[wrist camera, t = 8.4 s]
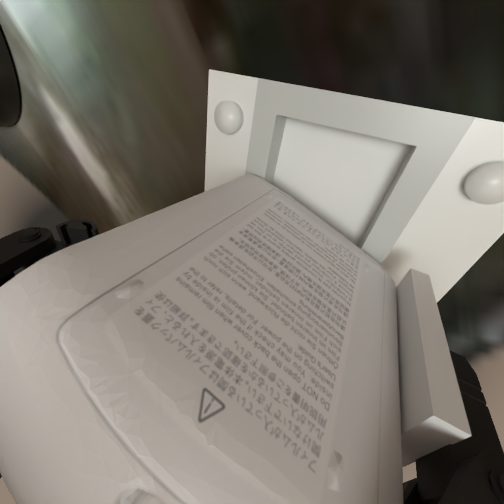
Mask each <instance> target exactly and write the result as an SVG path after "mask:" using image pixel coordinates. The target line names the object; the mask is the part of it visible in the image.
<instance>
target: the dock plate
mask: <svg viewBox="0 0 504 504" xmlns="http://www.w3.org/2000/svg"><path fill="white" fill-rule="evenodd" d="M247 174H252V175H255V176H258V177H260V178H262V179H264V180H266V181H268V182H269V183H271V184H272V185H274V186H275V187H277V188H278V189H280V190H281V191H283V192H284V193H286V194H287V195H289V196H290V197H292V198H293V199H294V200H295V201H297V202H298V203H300V204H301V205H303V206H304V207H305V208H307V209H308V210H309V211H311V212H312V213H313V214H315V215H316V216H318V217H319V218H320V219H321V220H323V221H324V222H325V223H327V224H328V225H329V226H331V227H332V228H334V229H335V230H336V231H338V232H339V233H340V234H342V235H343V236H344V237H345V238H347V239H348V240H349V241H351V242H352V243H353V244H355V245H356V246H357V247H358V248H360V249H361V250H362V251H364V252H365V253H366V254H367V255H369V256H370V257H371V258H372V259H374V260H375V261H376V262H377V263H378V264H379V265H380V266H381V267H382V268H383V269H384V270H385V271H386V272H387V273H388V274H389V275H390V276H391V278H392V279H393V281H394V282H395V286H396V287H397V286H398V284H399V283H400V282H401V280H402V279H403V278H404V276H405V275H406V274H407V272H408V271H409V270H410V268H412V269H414V270H417V271H420V272H422V273H425V274H428V275H429V276H430V280H431V284H432V288H433V291H434V295H435V299H436V303H437V302H438V301H439V300H440V299H441V298H442V297H443V296H444V295H445V294H446V293H447V292H448V291H449V290H450V289H451V287H452V286H453V285H454V284H455V283H456V282H457V281H458V280H459V279H460V278H461V277H462V276H463V275H464V274H465V273H466V272H467V271H468V270H469V269H470V268H471V266H472V265H473V264H474V263H475V262H476V261H477V260H478V259H479V258H480V257H481V256H482V255H483V254H484V253H485V252H486V251H487V250H488V249H489V248H490V247H491V245H492V244H493V243H494V242H495V241H496V240H497V239H498V238H499V237H500V236H501V235H502V234H503V233H504V123H503V122H498V121H492V120H486V119H481V118H476V117H471V116H465V115H460V114H454V113H448V112H443V111H437V110H432V109H426V108H421V107H415V106H410V105H404V104H399V103H393V102H387V101H382V100H376V99H371V98H365V97H360V96H354V95H349V94H343V93H338V92H332V91H327V90H321V89H315V88H310V87H304V86H299V85H293V84H288V83H282V82H277V81H271V80H266V79H260V78H254V77H248V76H243V75H237V74H232V73H226V72H221V71H215V70H210V69H209V84H208V112H207V139H206V166H205V191H208V190H210V189H212V188H215V187H217V186H220V185H222V184H225V183H227V182H229V181H232V180H234V179H237V178H239V177H241V176H244V175H247Z"/></svg>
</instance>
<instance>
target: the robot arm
mask: <svg viewBox="0 0 504 504" xmlns="http://www.w3.org/2000/svg"><path fill="white" fill-rule="evenodd" d="M19 110H20V100H19V91H18V85H17V80H16V76H15V72H14V68H13V65H12V61H11V58H10V55H9V52H8V49H7V46H6V44H5V41H4V38H3V36H2V33H1V31H0V126H11V125H13V124H14V123H15V122H16V121H17V119H18V116H19ZM56 228H57V230H58V233H59V235H60V238H61V240H62V242H61V241H56V240H54V237H53V235H52V233H51V231H50V230H49V229H46V228H40V227H35V228H33V227H32V228H28V229H23V230H20V231H17V232H14V233H12V234H10V235H8V236H5V237H3V238H1V239H0V287H1V286H2V285H4V284H5V283H7V282H8V281H9V280H11V279H12V278H13V277H15V274H14V273H13V272H14V271H16V270H17V269H19V268H20V267H22V269H23V270H25V269H27V268H28V267H30V266H31V265H33V264H35V263H36V262H38V261H39V260H41V259H43V258H45V257H47V256H49V255H51V254H53V253H55V252H58V251H60V250H62V249H64V248H67V247H69V246H71V245H74V244H76V243H79V242H82V241H84V240H87V239H89V238H92V237H94V236H97V235H99V233H98V230H97V226H96V224H95V223H94V222H92V221H88V220H73V221H67V222H64V223H61V224H59V225H57V226H56ZM396 296H397V334H398V364H399V390H400V417H401V447H402V466H403V467H404V466H406V465H409V464H411V463H413V462H415V461H416V470H417V478H415V479H412V480H410V481H407V482H405V483H403V504H504V452H503V450H502V447H501V444H500V441H499V438H498V435H497V432H496V429H495V426H494V424H493V421H492V418H491V415H490V412H489V409H488V407H487V406H486V401H485V398H484V395H483V393H482V392H481V386H480V383H479V380H478V377H477V375H476V373H475V371H474V370H473V368H472V367H471V366H470V364H469V363H468V361H467V360H466V359H465V357H463V356H461V355H459V354H457V353H454V352H452V351H450V350H449V348H448V344H447V340H446V337H445V333H444V329H443V325H442V322H441V318H440V314H439V310H438V307H437V303H436V299H435V295H434V291H433V288H432V284H431V280H430V276H429V275H428V274H425V273H422V272H420V271H417V270H414V269H412V268H410V270H409V271H408V272H407V274H406V275H405V276H404V278H403V279H402V280H401V282H400V283H399V284H398V286H397V287H396ZM1 477H2V475H1V473H0V478H1Z"/></svg>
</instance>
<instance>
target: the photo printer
mask: <svg viewBox="0 0 504 504" xmlns="http://www.w3.org/2000/svg"><path fill="white" fill-rule="evenodd" d="M0 473H1V475H2V477H3V479H4V481H5V484H6V486H7V488H8V490H9V492H10V493H11V495H12V497H13V498H14V500H15V502H16V503H17V504H403V472H402V447H401V417H400V390H399V364H398V334H397V296H396V286H395V282H394V281H393V279H392V278H391V276H390V275H389V274H388V273H387V272H386V271H385V270H384V269H383V268H382V267H381V266H380V265H379V264H378V263H377V262H376V261H375V260H374V259H372V258H371V257H370V256H369V255H367V254H366V253H365V252H364V251H362V250H361V249H360V248H358V247H357V246H356V245H355V244H353V243H352V242H351V241H349V240H348V239H347V238H345V237H344V236H343V235H342V234H340V233H339V232H338V231H336V230H335V229H334V228H332V227H331V226H329V225H328V224H327V223H325V222H324V221H323V220H321V219H320V218H319V217H318V216H316V215H315V214H313V213H312V212H311V211H309V210H308V209H307V208H305V207H304V206H303V205H301V204H300V203H298V202H297V201H295V200H294V199H293V198H292V197H290V196H289V195H287V194H286V193H284V192H283V191H281V190H280V189H278V188H277V187H275V186H274V185H272V184H271V183H269V182H268V181H266V180H264V179H262V178H260V177H258V176H255V175H252V174H247V175H244V176H241V177H239V178H237V179H234V180H232V181H229V182H227V183H225V184H222V185H220V186H217V187H215V188H212V189H210V190H208V191H205V192H203V193H200V194H198V195H196V196H193V197H191V198H188V199H186V200H183V201H181V202H178V203H176V204H173V205H171V206H168V207H166V208H164V209H161V210H159V211H156V212H154V213H151V214H148V215H146V216H144V217H141V218H139V219H136V220H134V221H131V222H129V223H127V224H124V225H122V226H119V227H116V228H114V229H112V230H109V231H107V232H104V233H102V234H99V235H97V236H94V237H92V238H89V239H87V240H84V241H82V242H79V243H76V244H74V245H71V246H69V247H67V248H64V249H62V250H60V251H58V252H55V253H53V254H51V255H49V256H47V257H45V258H43V259H41V260H39V261H38V262H36V263H35V264H33V265H31V266H30V267H28V268H27V269H25V270H23V271H22V272H20V273H19V274H18V275H16V276H15V277H13V278H12V279H11V280H9V281H8V282H7V283H5V284H4V285H2V286H1V287H0Z"/></svg>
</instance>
